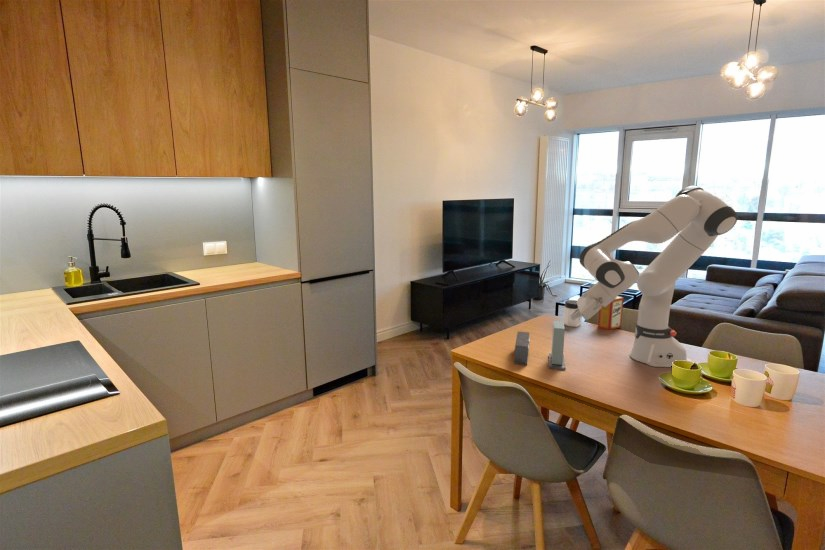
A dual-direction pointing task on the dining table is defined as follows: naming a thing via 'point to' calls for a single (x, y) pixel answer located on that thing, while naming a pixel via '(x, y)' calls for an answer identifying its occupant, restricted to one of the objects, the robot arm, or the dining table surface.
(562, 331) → the block
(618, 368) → the dining table surface
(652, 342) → the robot arm
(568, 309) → the jar
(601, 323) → the baking soda box
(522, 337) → the block
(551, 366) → the rail
